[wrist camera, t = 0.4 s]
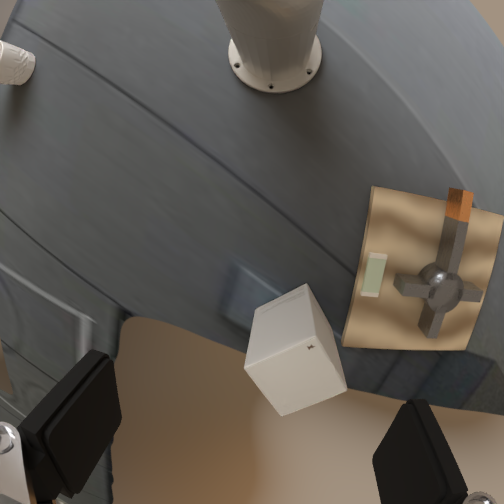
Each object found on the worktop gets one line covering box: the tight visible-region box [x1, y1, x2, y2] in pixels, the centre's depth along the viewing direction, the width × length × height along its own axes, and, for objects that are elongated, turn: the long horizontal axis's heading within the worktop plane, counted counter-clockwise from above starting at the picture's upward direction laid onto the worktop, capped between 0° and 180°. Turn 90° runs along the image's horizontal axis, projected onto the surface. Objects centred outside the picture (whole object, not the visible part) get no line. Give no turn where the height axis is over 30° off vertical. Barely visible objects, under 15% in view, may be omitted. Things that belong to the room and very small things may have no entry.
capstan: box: [393, 188, 484, 339], centre depth 37 cm, size 21×14×5 cm, turn 174°
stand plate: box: [341, 186, 504, 350], centre depth 42 cm, size 24×24×2 cm
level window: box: [360, 252, 387, 297], centre depth 41 cm, size 6×3×1 cm, turn 174°
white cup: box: [0, 41, 36, 85], centre depth 34 cm, size 8×8×10 cm
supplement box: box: [244, 283, 347, 416], centre depth 39 cm, size 9×9×15 cm
